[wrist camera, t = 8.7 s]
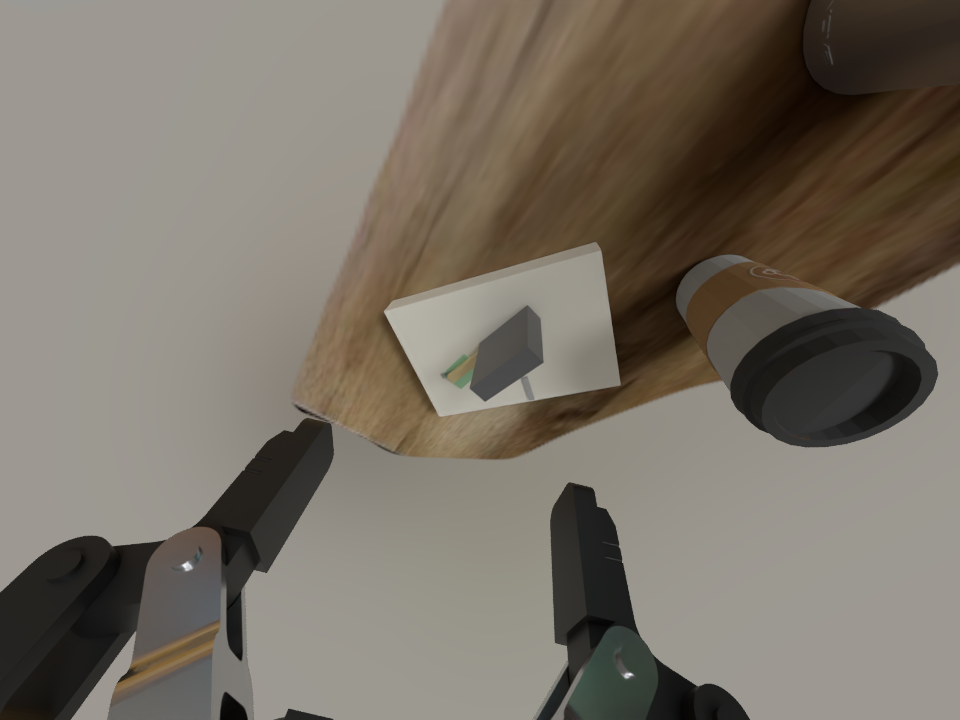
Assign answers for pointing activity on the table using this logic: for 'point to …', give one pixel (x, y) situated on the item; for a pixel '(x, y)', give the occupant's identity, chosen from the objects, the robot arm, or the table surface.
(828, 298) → the coffee cup
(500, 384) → the dark gray beam
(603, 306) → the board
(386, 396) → the table surface
